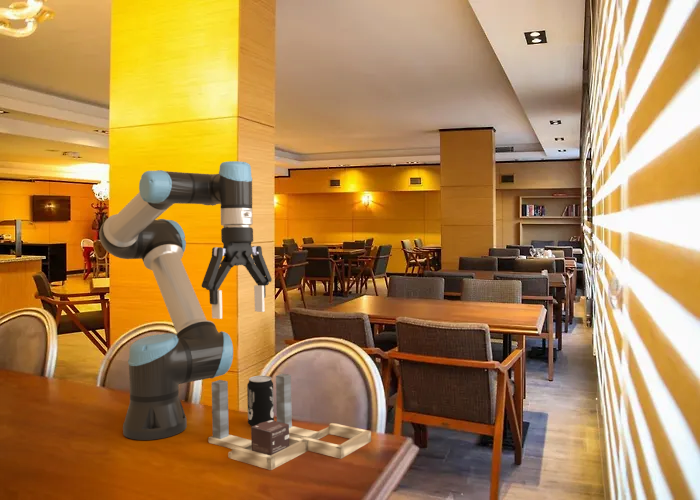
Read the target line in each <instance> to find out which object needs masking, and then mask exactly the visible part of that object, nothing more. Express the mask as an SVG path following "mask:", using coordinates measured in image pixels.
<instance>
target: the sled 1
mask: <svg viewBox="0 0 700 500" xmlns="http://www.w3.org/2000/svg"><path fill="white" fill-rule="evenodd" d="M228 384H229V383H228V381H227V380H222V379H219V380H216V381H212V382H211V415H212V416H211V417H212V435H211V436H208V440H207V441H208V443H209V444H213V445H216V446H220V447H224V448H228V449H231V451H228V453H227V456H228V459H232V460H235V461H238V462H242V463H244V464H249V465H252V466H255V467H259V468H262V469H266V470H269V471H272V470H274V469H276V468H278V467H280V466H282V465H284V464H285V463H287V462H290V461H291V460H293V459H295V458H297V457H299V456H301V455H303V454H305V453H307V452H309V451H308V440H304V439H300V438H296V437H292V436H289V447H287V448H285V449H283V450H281V451H279V452H277V453H275V454H273V455H271V456H270V455H266V454H262V453H259V452H255V451H252V441H251V439H249V438H248V439H247V438H244V437H240V436H237V435H232V434H229V433H230V432H229V429H230V428H229V388H228V387H229V385H228Z"/></svg>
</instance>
